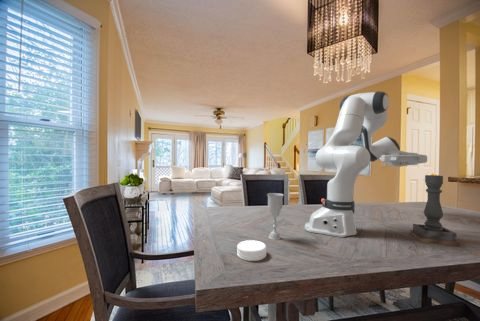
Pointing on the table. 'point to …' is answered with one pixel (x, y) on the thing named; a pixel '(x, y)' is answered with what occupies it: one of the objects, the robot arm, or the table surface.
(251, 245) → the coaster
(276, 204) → the chalice
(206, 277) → the table surface
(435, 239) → the socket base
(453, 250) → the table surface
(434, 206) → the candle holder
